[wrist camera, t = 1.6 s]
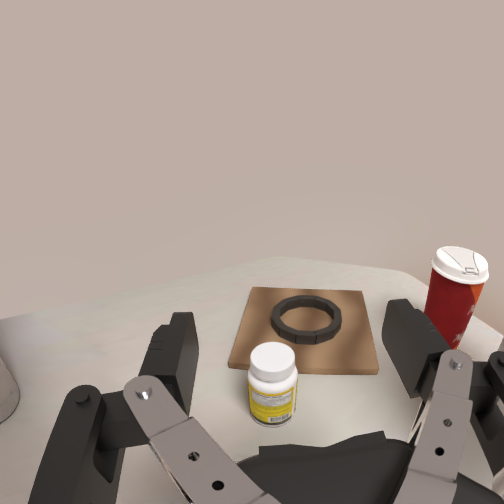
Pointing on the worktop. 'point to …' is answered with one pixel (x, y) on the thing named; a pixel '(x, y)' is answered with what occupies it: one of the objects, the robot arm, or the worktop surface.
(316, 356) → the board
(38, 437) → the worktop surface
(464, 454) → the cylinder vase
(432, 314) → the paper cup
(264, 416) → the supplement bottle
